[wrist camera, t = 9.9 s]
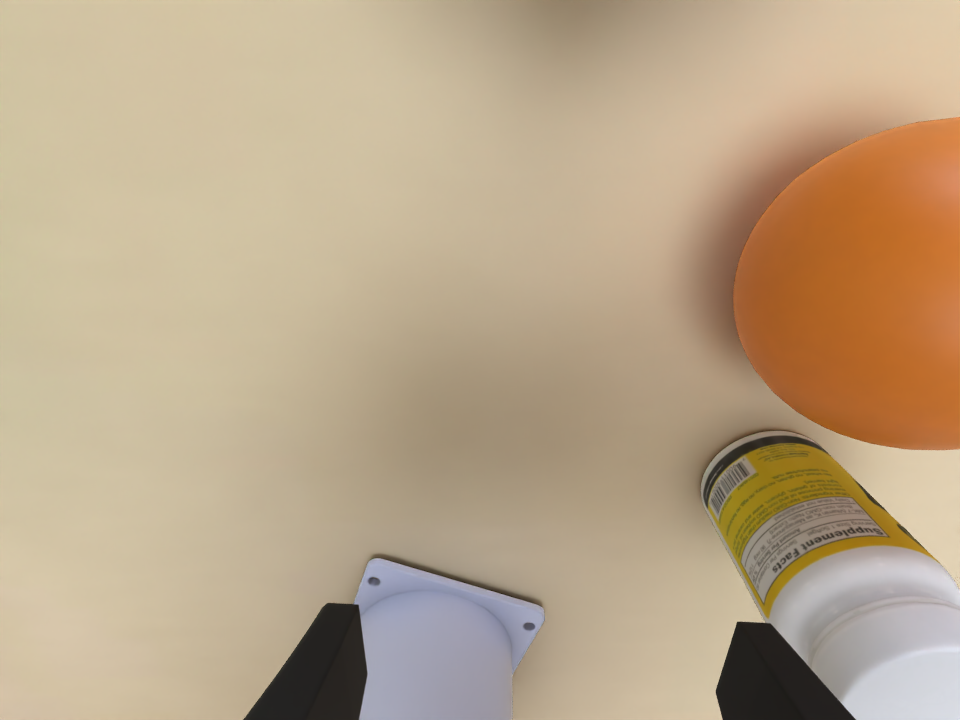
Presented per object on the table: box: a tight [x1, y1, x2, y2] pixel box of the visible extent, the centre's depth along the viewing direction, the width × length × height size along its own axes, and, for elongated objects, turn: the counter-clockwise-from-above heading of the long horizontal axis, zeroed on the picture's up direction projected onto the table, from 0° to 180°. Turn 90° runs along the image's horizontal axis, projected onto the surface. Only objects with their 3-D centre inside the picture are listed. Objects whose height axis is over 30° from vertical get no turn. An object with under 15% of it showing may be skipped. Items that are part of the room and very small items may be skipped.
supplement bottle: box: [701, 431, 960, 720], centre depth 15 cm, size 5×5×8 cm
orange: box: [733, 117, 960, 450], centre depth 12 cm, size 8×8×8 cm
